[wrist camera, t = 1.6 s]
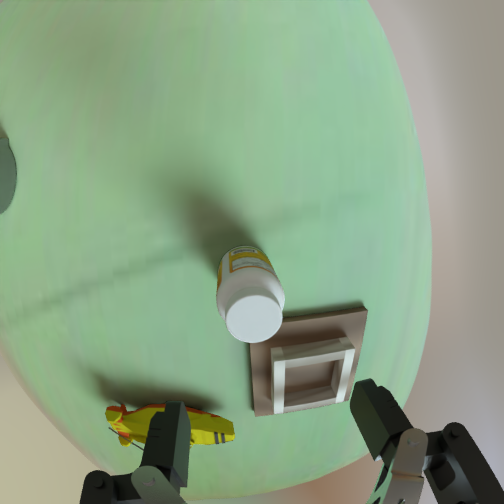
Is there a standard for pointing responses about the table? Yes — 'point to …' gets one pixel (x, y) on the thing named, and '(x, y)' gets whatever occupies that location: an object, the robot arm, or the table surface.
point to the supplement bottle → (249, 295)
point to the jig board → (307, 362)
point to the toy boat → (137, 422)
